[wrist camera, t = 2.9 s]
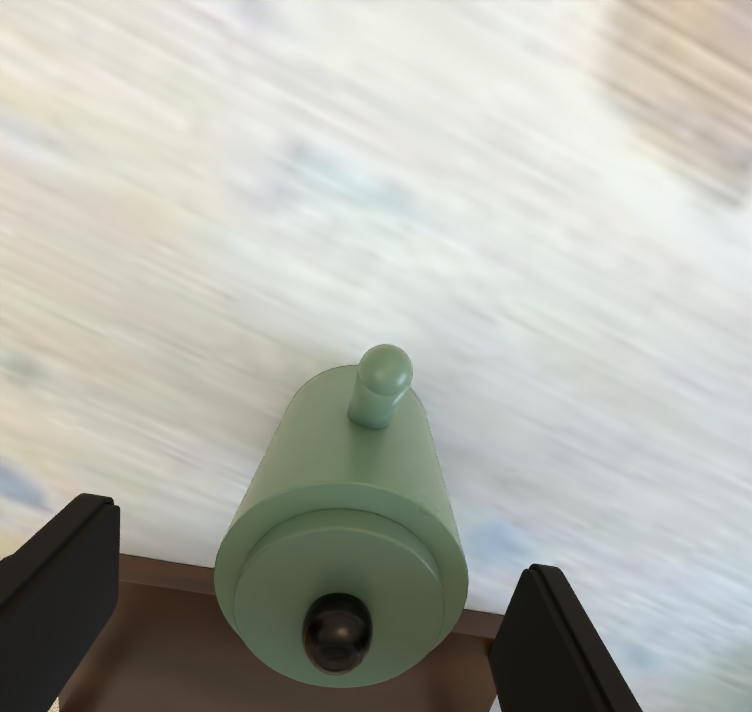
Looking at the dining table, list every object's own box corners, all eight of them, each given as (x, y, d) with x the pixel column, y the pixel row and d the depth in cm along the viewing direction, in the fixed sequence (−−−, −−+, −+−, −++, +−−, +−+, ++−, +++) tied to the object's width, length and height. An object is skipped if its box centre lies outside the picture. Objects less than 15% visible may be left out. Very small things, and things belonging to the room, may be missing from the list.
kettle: (306, 284, 13) (198, 369, 5) (462, 317, 14) (589, 445, 6) (275, 479, 16) (169, 745, 8) (409, 503, 16) (443, 780, 8)
